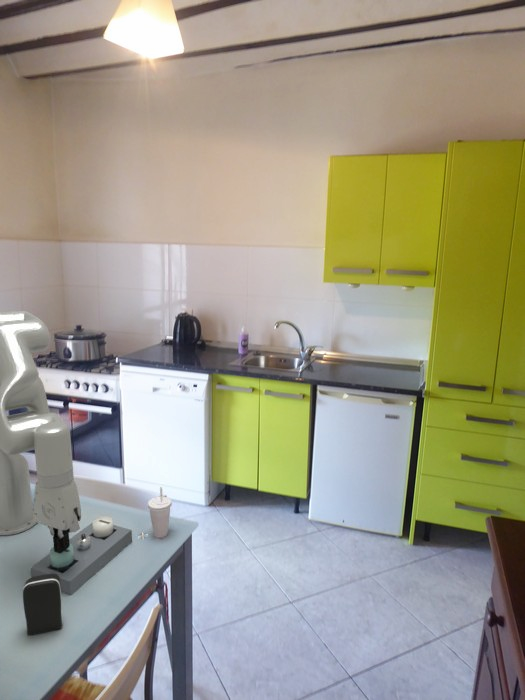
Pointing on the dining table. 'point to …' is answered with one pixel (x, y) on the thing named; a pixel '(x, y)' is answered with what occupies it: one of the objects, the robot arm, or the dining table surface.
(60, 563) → the knob
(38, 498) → the robot arm
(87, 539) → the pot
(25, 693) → the dining table surface
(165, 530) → the smoothie
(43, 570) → the mount
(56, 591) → the black rounded upright block
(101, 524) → the knob
